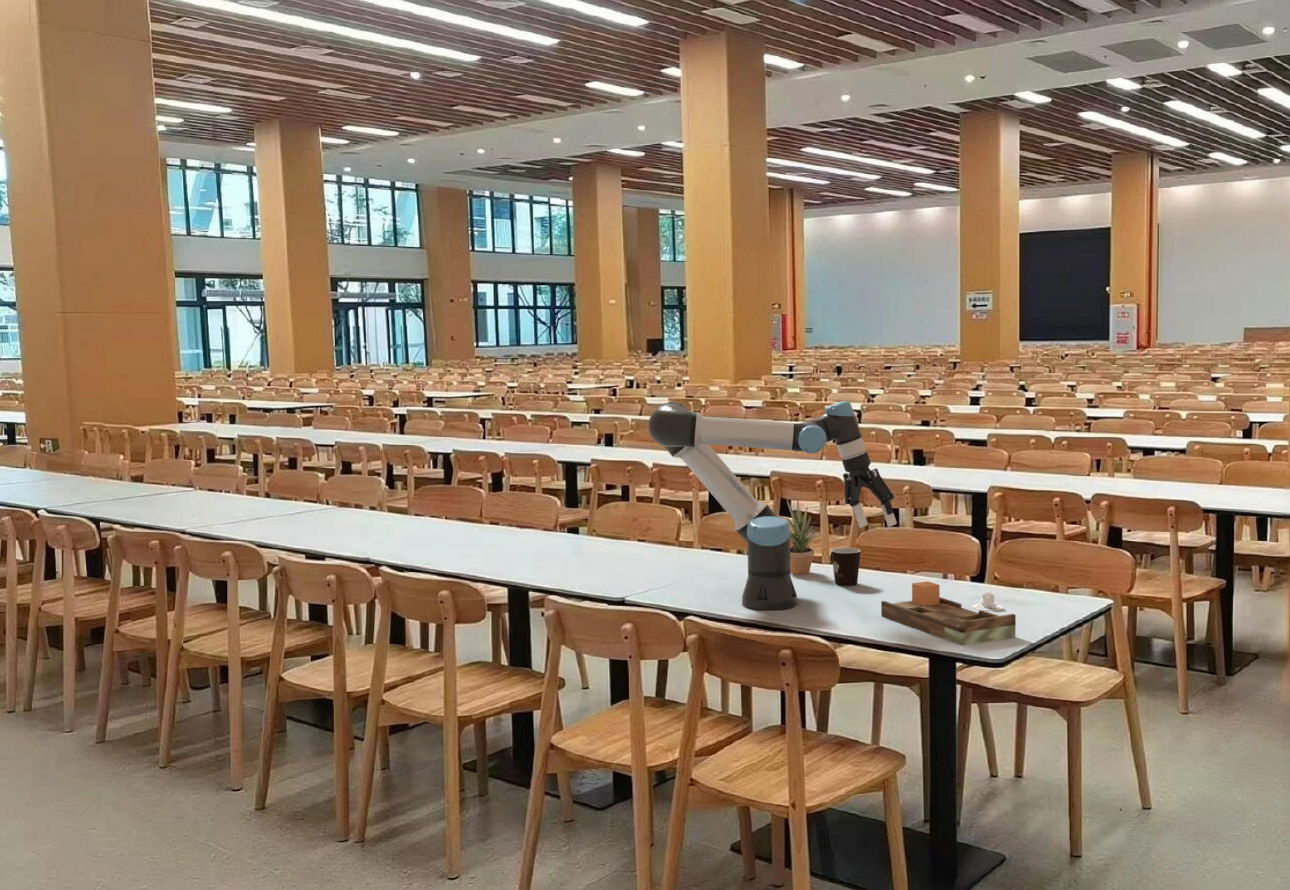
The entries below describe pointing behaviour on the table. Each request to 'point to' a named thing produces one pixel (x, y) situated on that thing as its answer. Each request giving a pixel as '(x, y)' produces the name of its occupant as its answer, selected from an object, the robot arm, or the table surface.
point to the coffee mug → (845, 565)
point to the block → (925, 593)
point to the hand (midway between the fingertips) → (877, 525)
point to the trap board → (951, 621)
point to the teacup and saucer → (987, 602)
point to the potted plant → (800, 543)
